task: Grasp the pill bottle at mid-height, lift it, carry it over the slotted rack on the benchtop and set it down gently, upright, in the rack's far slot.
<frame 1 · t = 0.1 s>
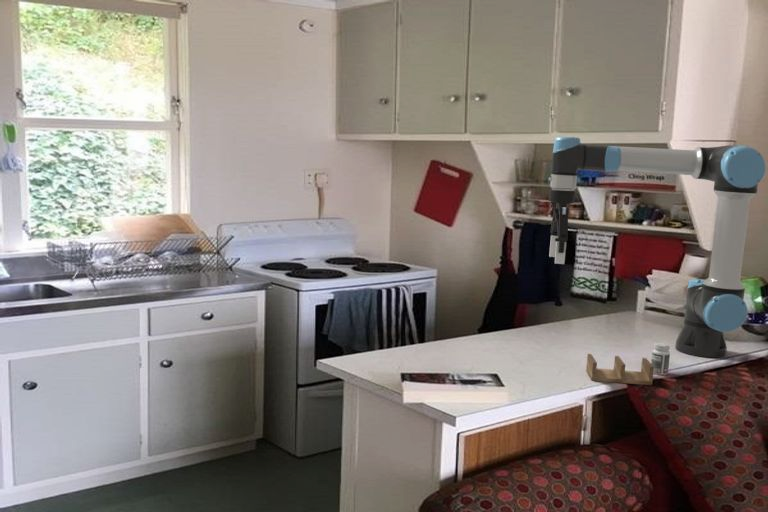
hand: (556, 260, 243), 28 cm above the counter, fingers open, 13 cm apart
pill bottle: (658, 373, 229), on the counter
rack: (618, 378, 222), on the counter
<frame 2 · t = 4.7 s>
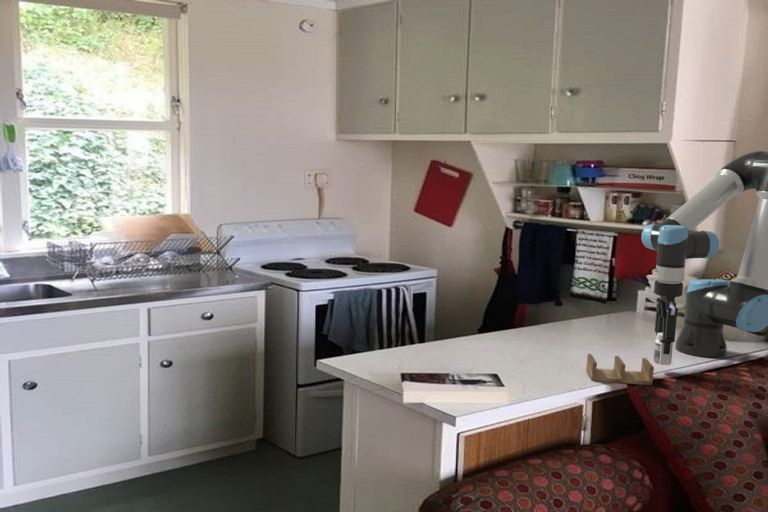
hand: (662, 361, 229), 3 cm above the counter, fingers closed on pill bottle, 5 cm apart
pill bottle: (662, 363, 229), point 3 cm above the counter, touching gripper
when the fingers open (2 cm above the counter, at t = 8.9 s): pill bottle stays where it is, resting on rack.
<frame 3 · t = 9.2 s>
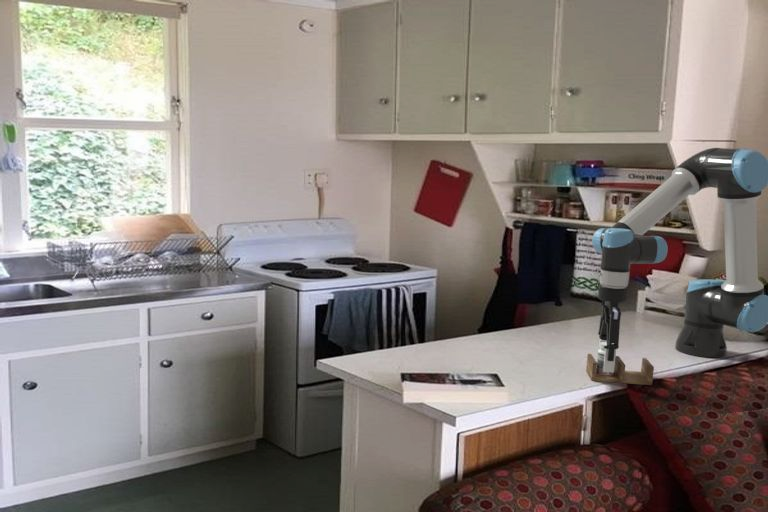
hand: (605, 367, 222), 3 cm above the counter, fingers open, 8 cm apart
pill bottle: (605, 374, 222), point 1 cm above the counter, touching rack
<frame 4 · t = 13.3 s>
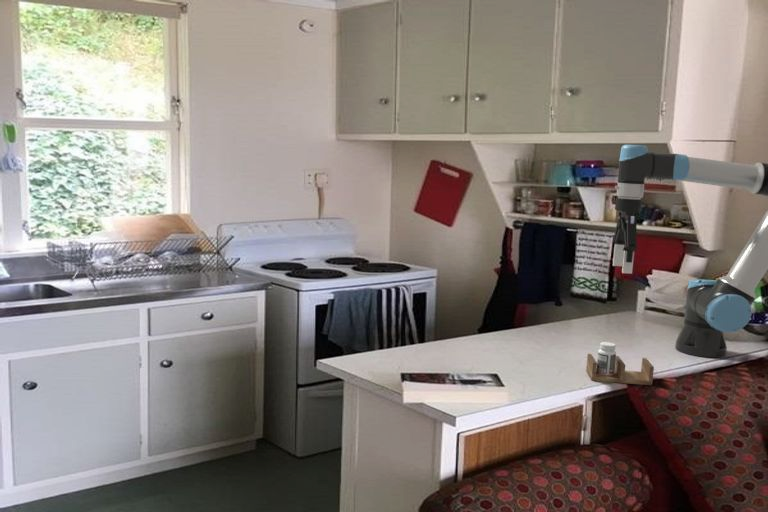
hand: (622, 269, 240), 27 cm above the counter, fingers open, 13 cm apart
nothing on the counter moved.
at the end: pill bottle inside the target area on the rack (0.1 cm from its centre), point 0.8 cm above the rack's base; pill bottle tilted 0°; the gripper is holding nothing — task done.
